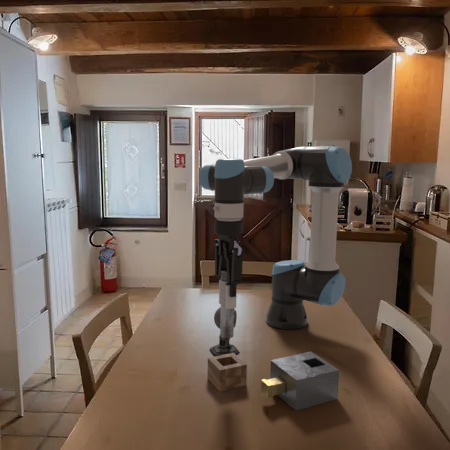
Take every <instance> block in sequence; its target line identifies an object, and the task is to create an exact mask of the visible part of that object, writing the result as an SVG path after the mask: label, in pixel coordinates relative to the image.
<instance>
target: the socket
mask: <svg viewBox="0 0 450 450" xmlns="http://www.w3.org/2000/svg"><path fill="white" fill-rule="evenodd" d="M277 377H281V378H283V379H284V380H285V381H286V382H287V389H286V392H285V393H281V394H277V396H278V397H279V398H280V399H281V400H283V401H284V402H285V403H286V404H287V405H288V406H289V407H291V409H292V410H294V411H295V412H296V411H301V410H303V409H307V408H310V407H314V406H317V405H321V404H322V405H323V404H325V403H328V402H332V401H336V400H338V398H339V397H338V396H339V381H340V380H339V378H340V369H338V368H337V367H336V366H334V365H333V364H331V363H329V362H328V361H326V360H324V358H321V357H320V356H318V355H317V353H314V352H313V351H311V350H310V351H307V352H303V353H297V354H293V355H289V356H283V357H278V358H274V359H270V375H269V379H272V378H277Z"/></svg>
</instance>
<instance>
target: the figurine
mask: <svg viewBox="0 0 450 450" xmlns="http://www.w3.org/2000/svg"><path fill="white" fill-rule="evenodd" d="M213 315H214V316H213V319H214V320H213V321H214V324H215V326H216V327H217V328H218V329H219V330H220V315H221V306H220V307H218V308H217V310H216V311H215V312H214V314H213ZM237 318H238V317H237V310H236V308H234V328H235V327H236V324H237ZM218 339H219V343H218V344H216V345H214V346H211V347H210V348H209V352H210V354H211V355H212V357H215V356H220V355H225V354H230V353H234V354H235V355H237V356H238V354H240V351H239V349H238V348H237V347H236V346H235V344H231V343H230V340H231V338H222V337H220V334H219V336H218Z"/></svg>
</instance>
